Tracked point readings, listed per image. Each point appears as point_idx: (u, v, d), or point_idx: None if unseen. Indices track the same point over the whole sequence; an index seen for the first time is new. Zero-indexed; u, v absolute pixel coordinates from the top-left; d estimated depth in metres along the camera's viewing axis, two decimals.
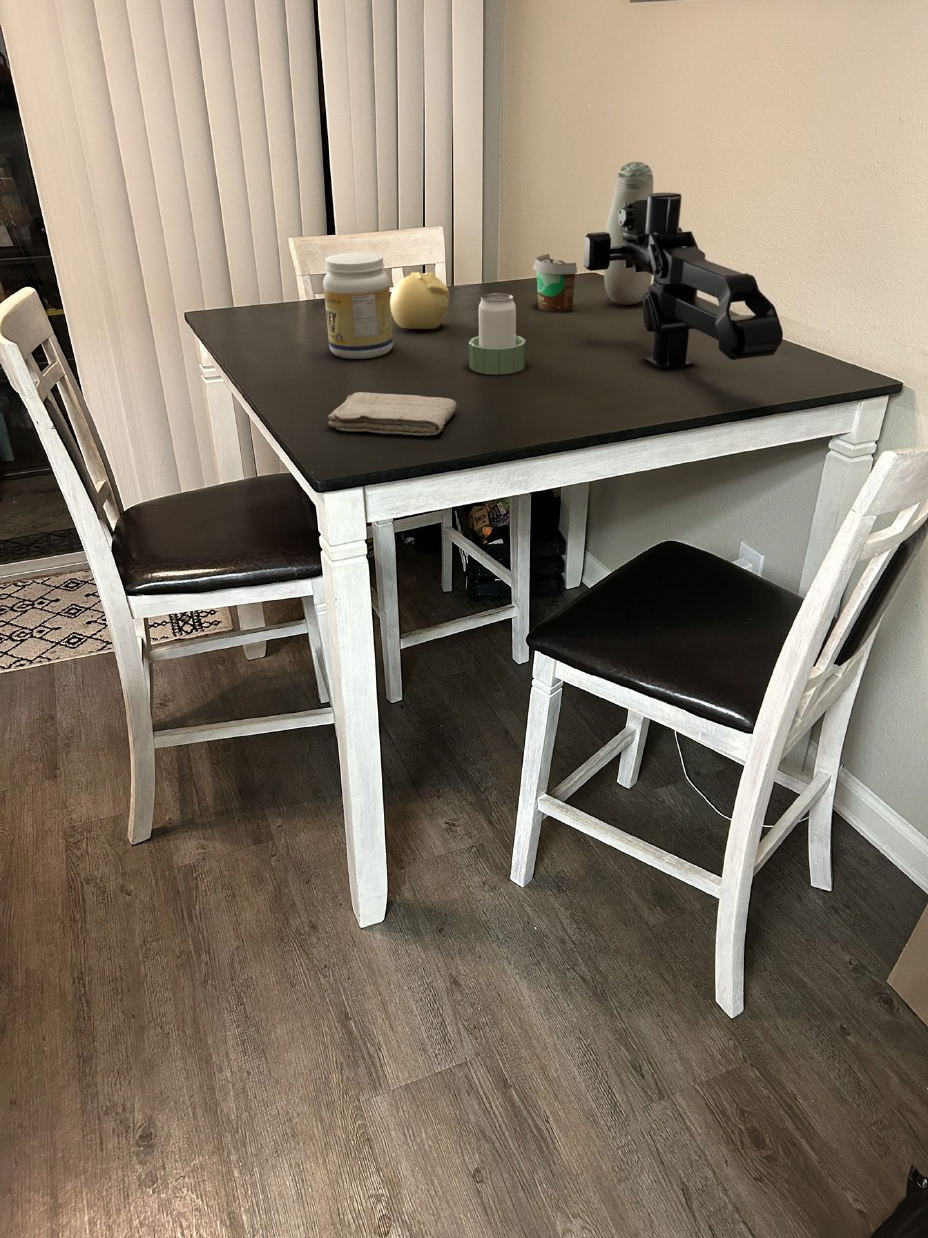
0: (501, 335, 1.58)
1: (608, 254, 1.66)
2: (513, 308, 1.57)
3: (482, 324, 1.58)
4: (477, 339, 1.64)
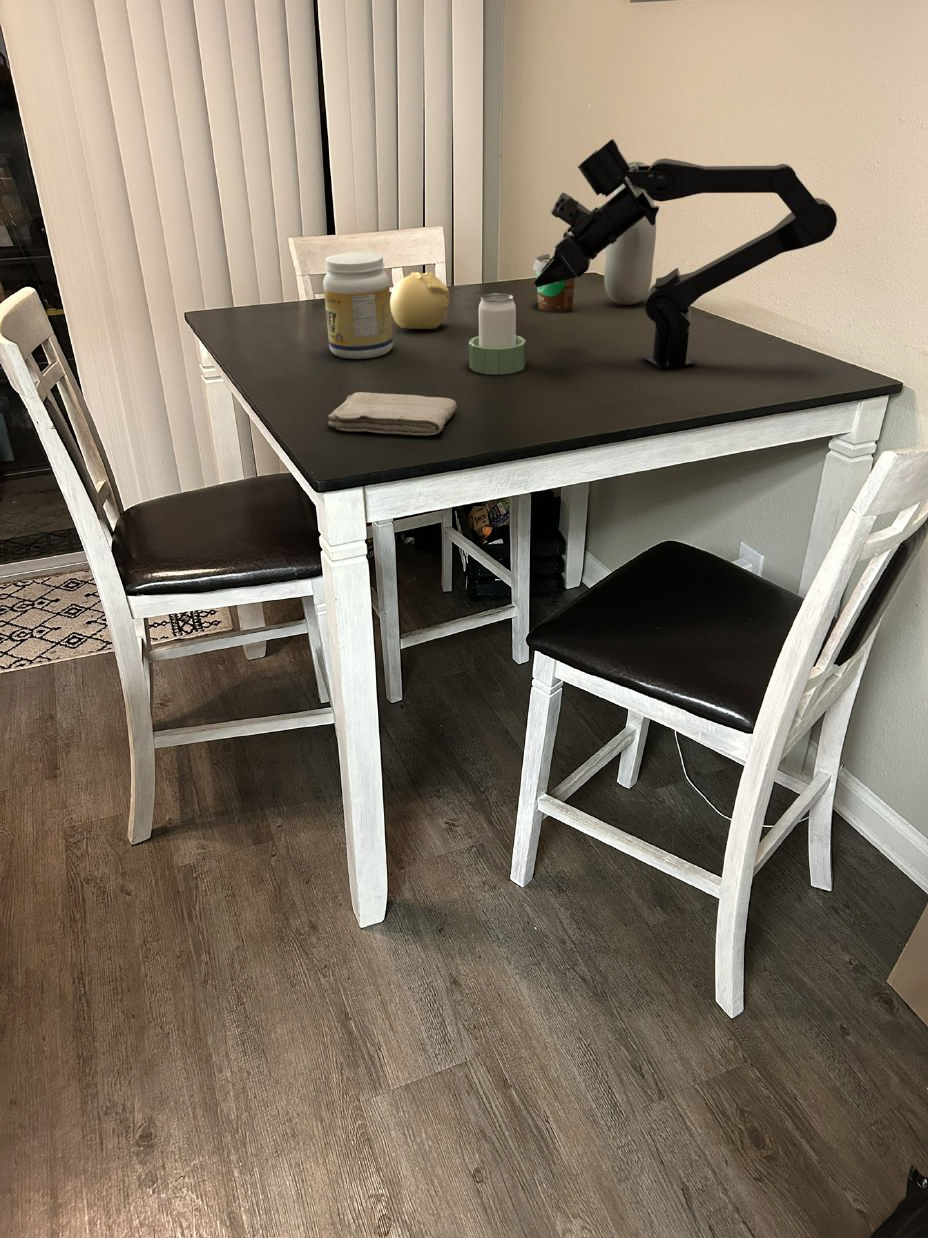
0: (501, 334, 1.58)
1: (584, 249, 1.51)
2: (513, 308, 1.57)
3: (481, 324, 1.58)
4: (477, 339, 1.64)
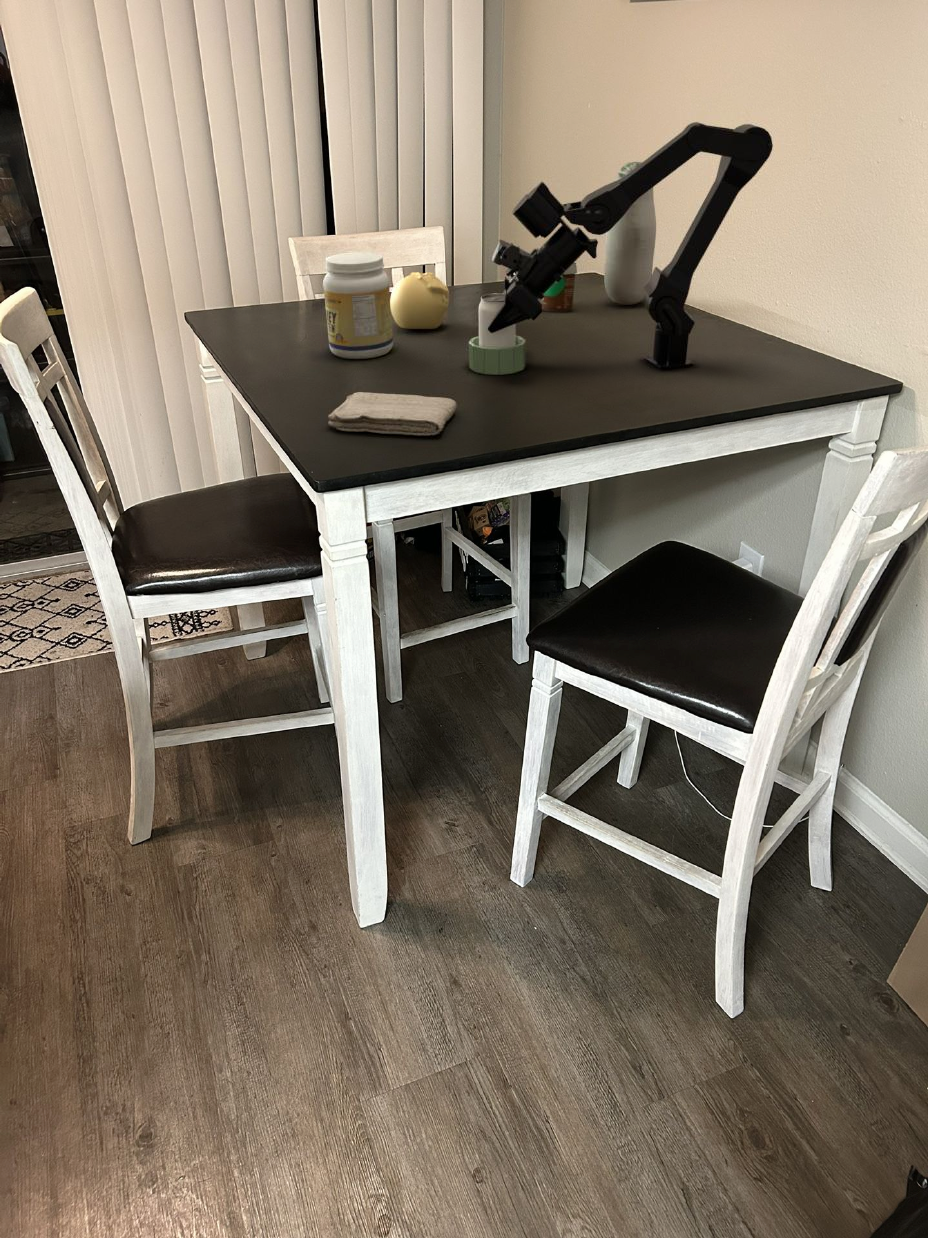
0: (501, 335, 1.58)
1: (533, 292, 1.52)
2: None
3: (481, 324, 1.58)
4: (477, 339, 1.64)
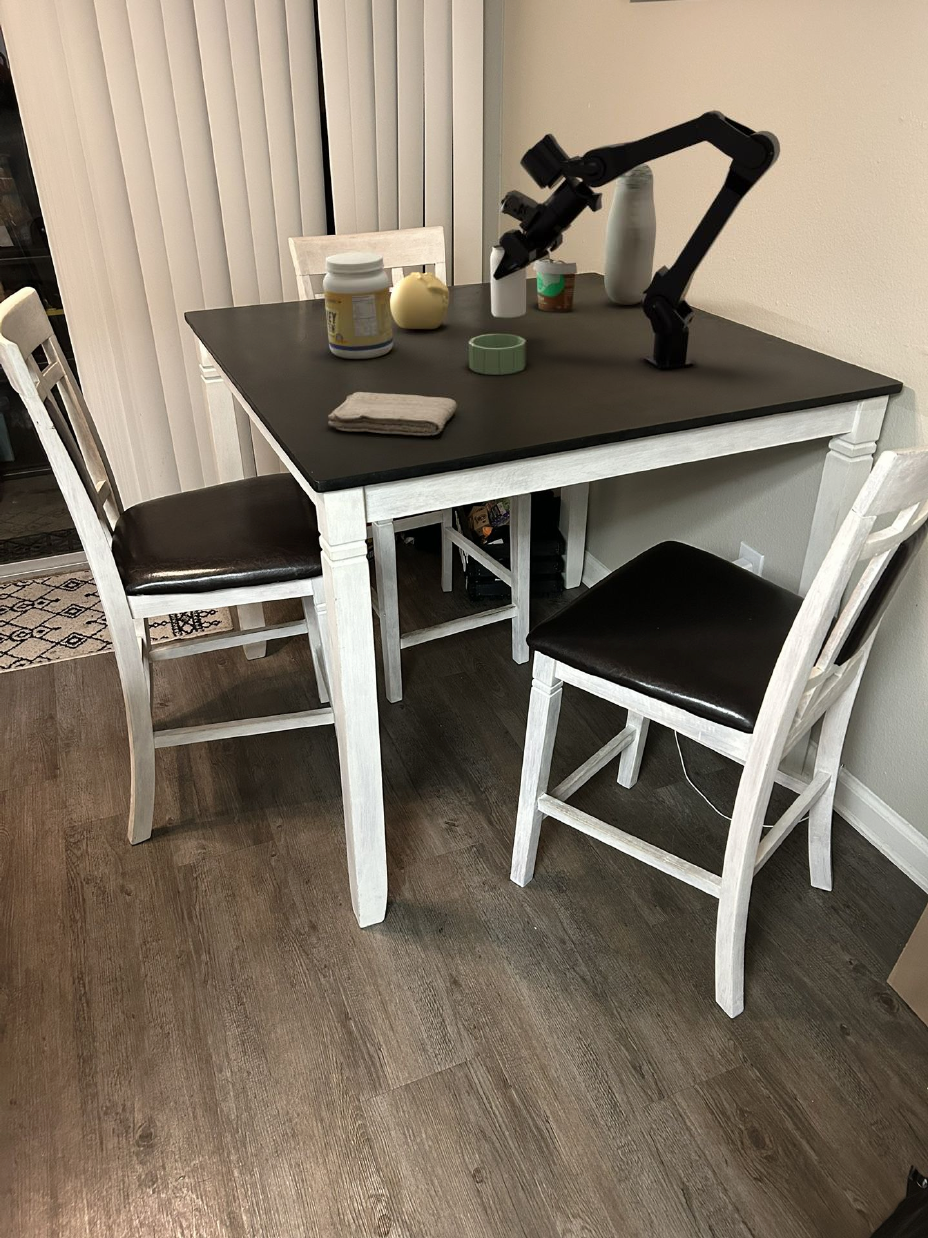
0: (505, 282, 1.65)
1: (528, 241, 1.57)
2: None
3: None
4: (477, 339, 1.64)
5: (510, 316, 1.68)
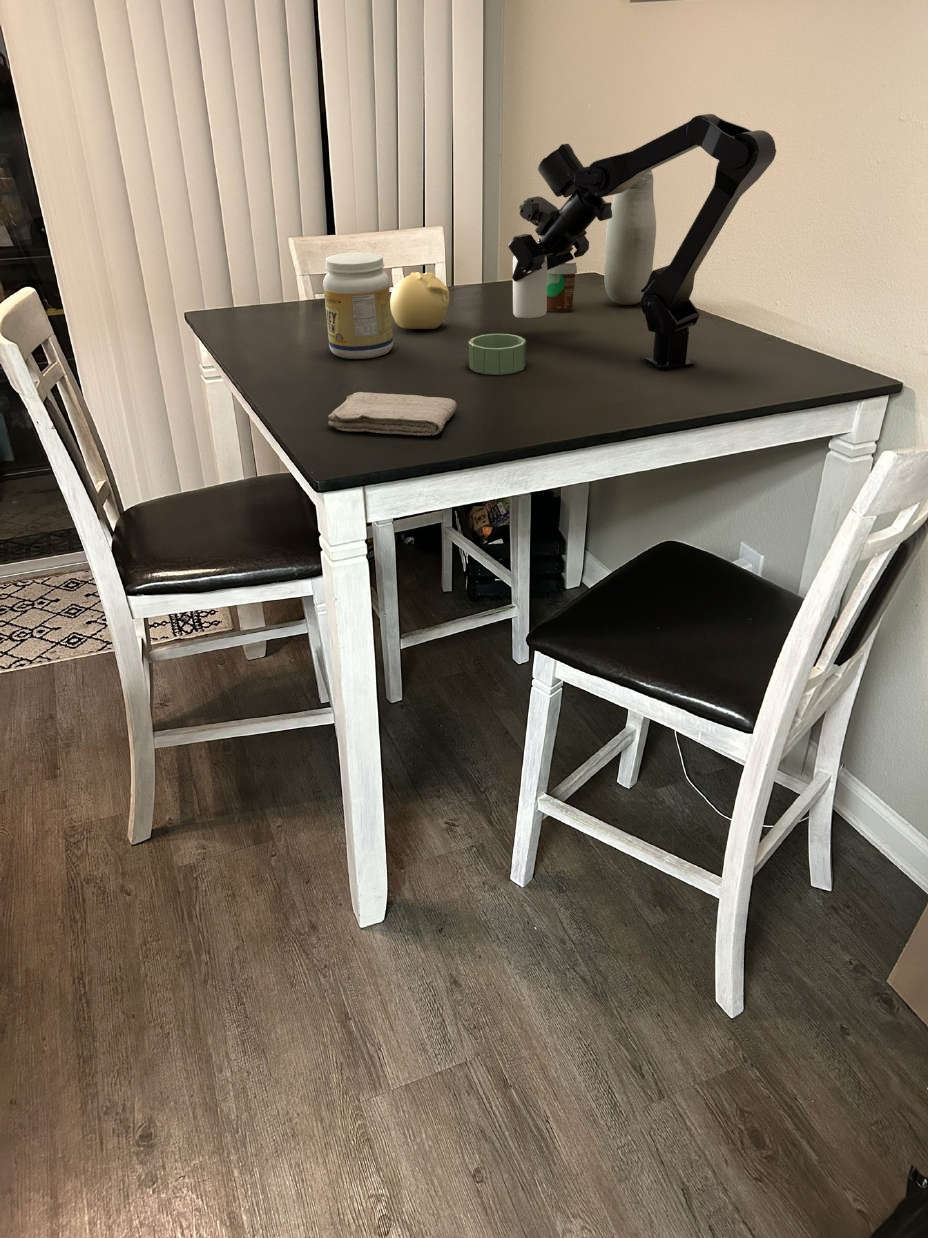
0: (522, 284, 1.72)
1: (537, 245, 1.64)
2: None
3: None
4: (477, 339, 1.64)
5: (527, 316, 1.75)
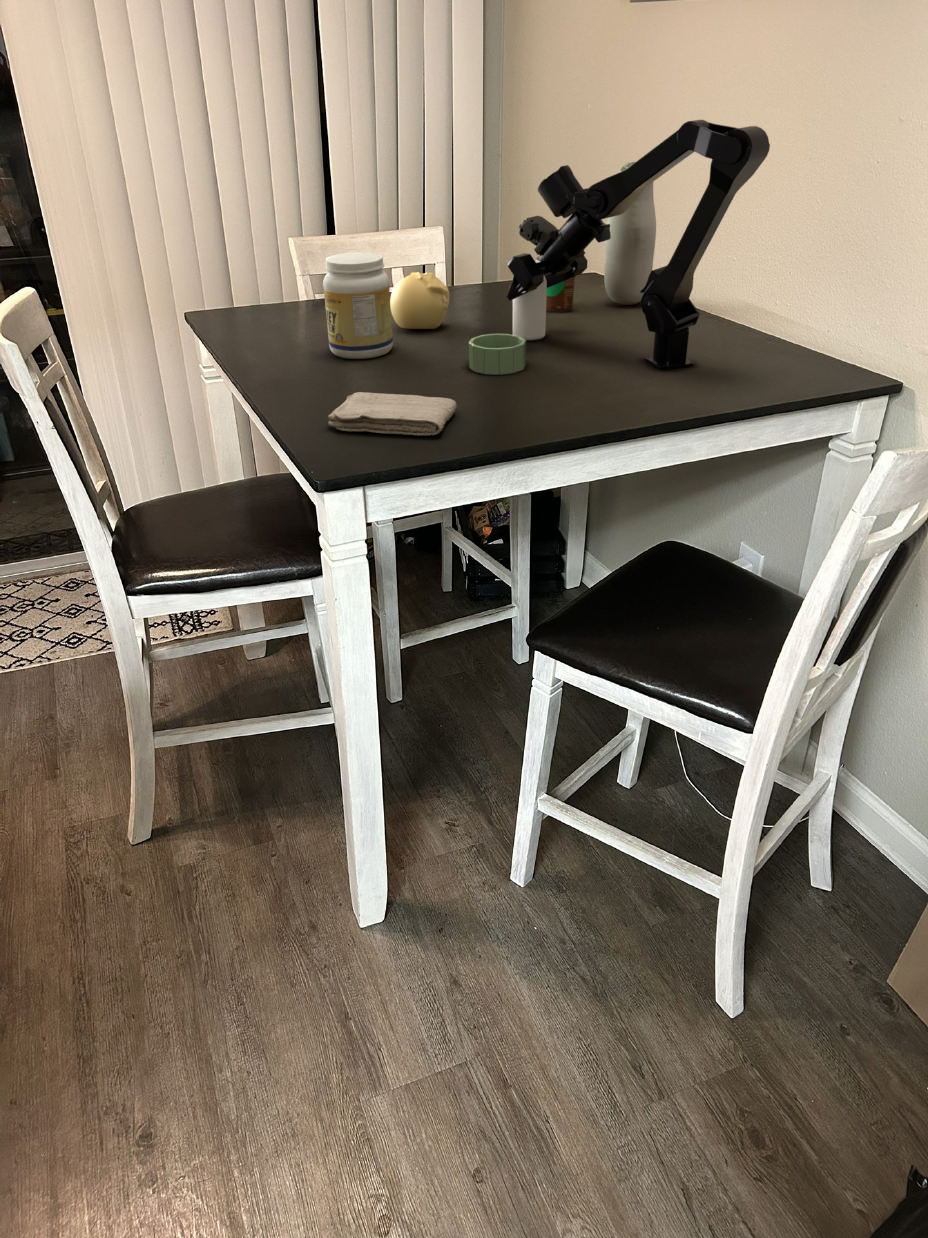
0: (522, 307, 1.75)
1: (536, 265, 1.65)
2: None
3: None
4: (477, 339, 1.64)
5: (526, 338, 1.77)
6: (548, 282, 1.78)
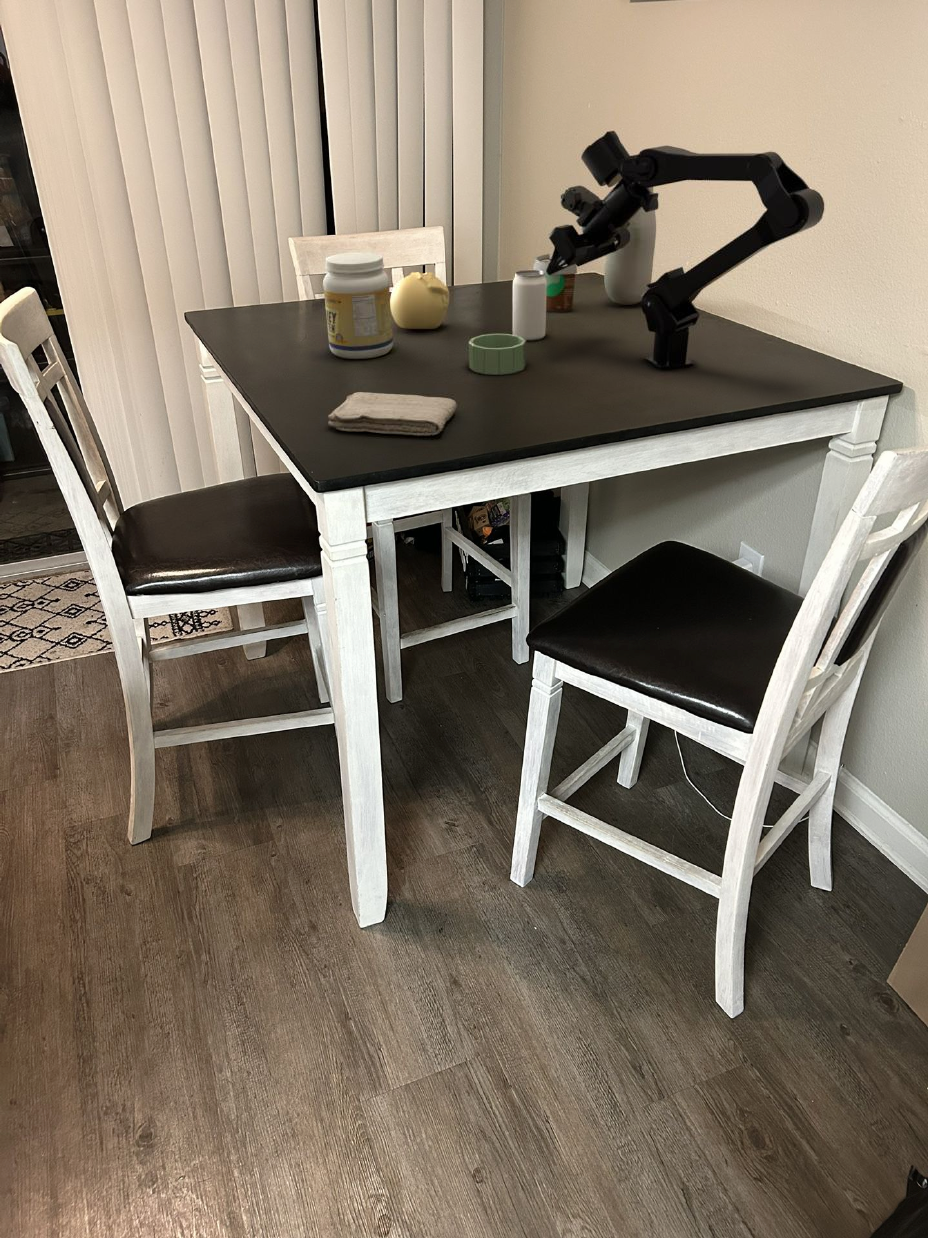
0: (522, 307, 1.75)
1: (579, 237, 1.57)
2: (536, 284, 1.72)
3: None
4: (477, 339, 1.64)
5: (526, 338, 1.77)
6: (588, 256, 1.70)
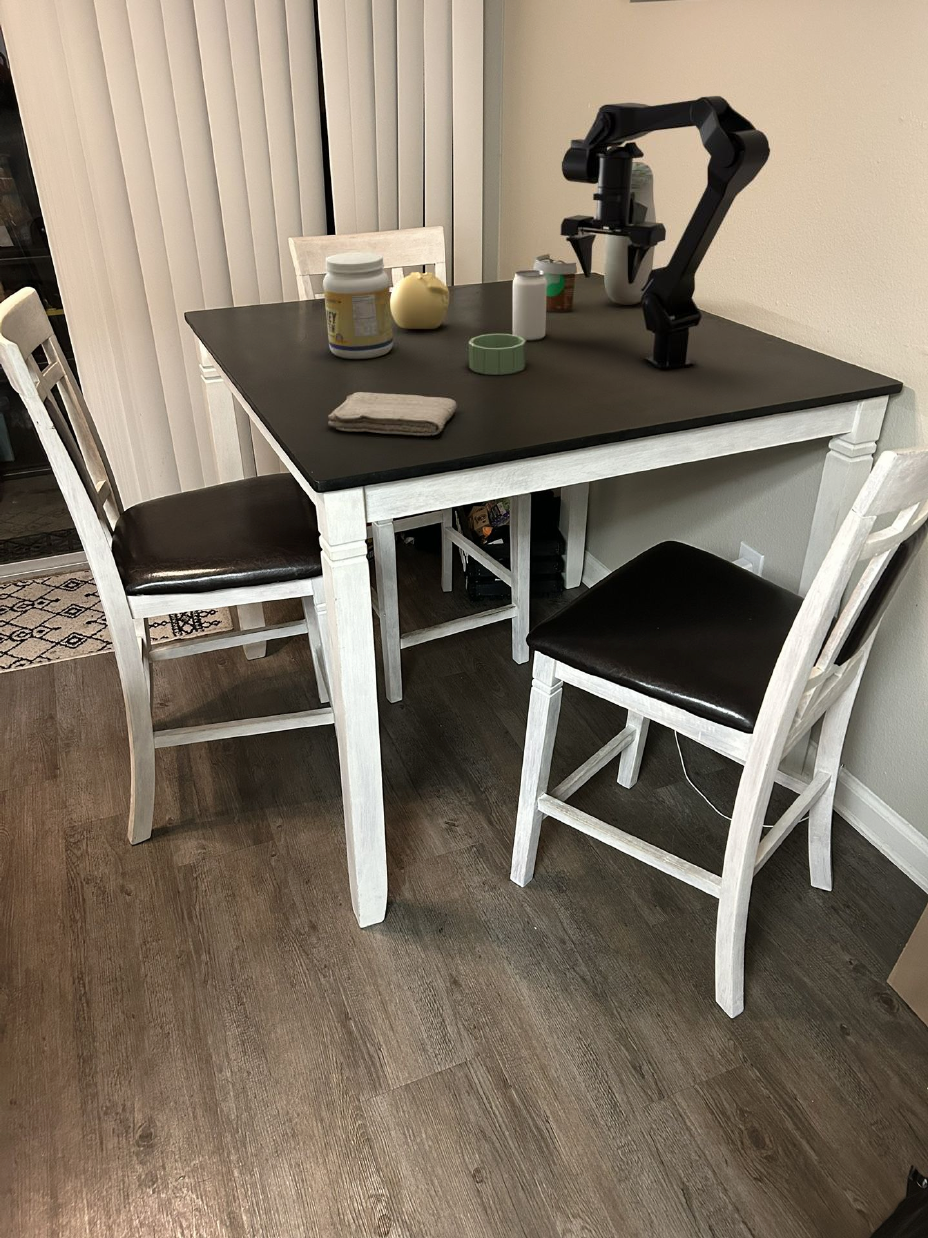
0: (522, 307, 1.75)
1: (583, 218, 1.64)
2: (536, 284, 1.72)
3: None
4: (477, 339, 1.64)
5: (526, 338, 1.77)
6: None
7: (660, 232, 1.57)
